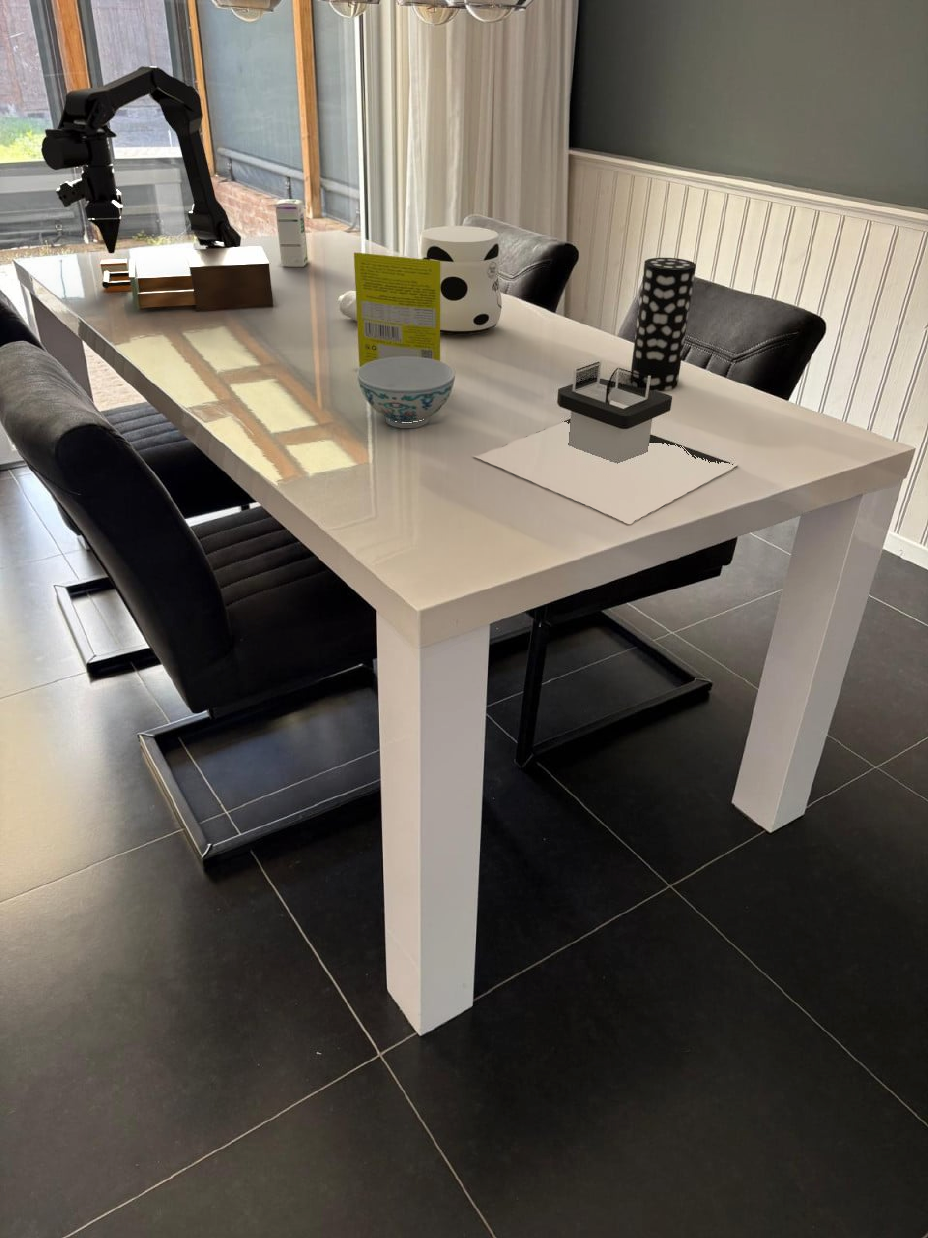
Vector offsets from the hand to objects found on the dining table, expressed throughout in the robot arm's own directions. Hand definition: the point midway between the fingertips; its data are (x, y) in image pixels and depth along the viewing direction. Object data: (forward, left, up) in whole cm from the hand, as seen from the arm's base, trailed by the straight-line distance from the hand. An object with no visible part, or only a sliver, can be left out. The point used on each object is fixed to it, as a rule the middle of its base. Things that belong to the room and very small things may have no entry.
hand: (112, 248), depth 186 cm
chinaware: (+6, +89, -12) cm, 90 cm away
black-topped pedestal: (-1, +121, -12) cm, 122 cm away
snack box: (-6, -11, -11) cm, 17 cm away
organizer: (-19, +13, -11) cm, 26 cm away
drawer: (-6, +5, -10) cm, 13 cm away
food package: (-8, +74, -12) cm, 76 cm away
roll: (-27, +44, -12) cm, 53 cm away
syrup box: (-50, -2, -12) cm, 51 cm away
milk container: (-37, +63, -12) cm, 74 cm away
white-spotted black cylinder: (-36, +109, -12) cm, 116 cm away
